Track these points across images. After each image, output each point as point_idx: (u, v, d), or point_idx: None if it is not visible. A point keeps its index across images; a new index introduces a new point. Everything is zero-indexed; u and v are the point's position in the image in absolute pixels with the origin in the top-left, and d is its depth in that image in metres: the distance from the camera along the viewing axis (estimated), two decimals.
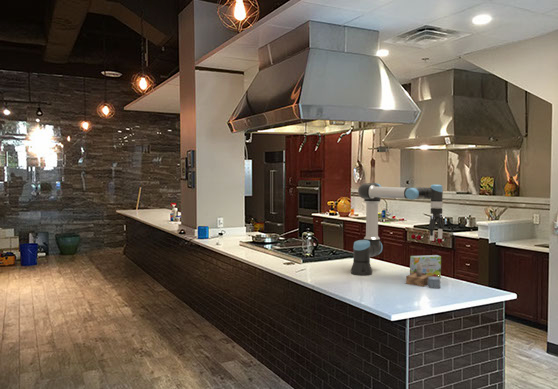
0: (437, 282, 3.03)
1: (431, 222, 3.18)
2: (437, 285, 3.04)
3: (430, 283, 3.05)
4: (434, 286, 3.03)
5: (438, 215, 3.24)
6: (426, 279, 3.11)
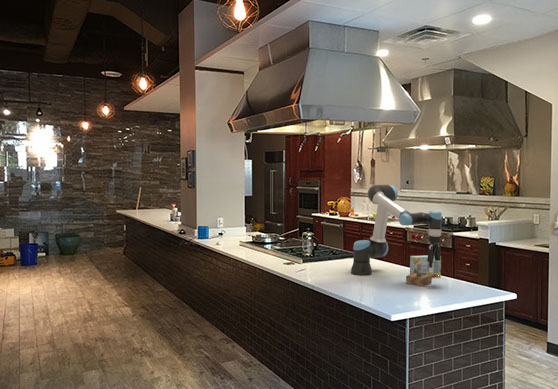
0: (437, 267, 3.03)
1: (429, 253, 3.01)
2: (437, 270, 3.04)
3: None
4: (434, 271, 3.03)
5: None
6: (426, 279, 3.11)
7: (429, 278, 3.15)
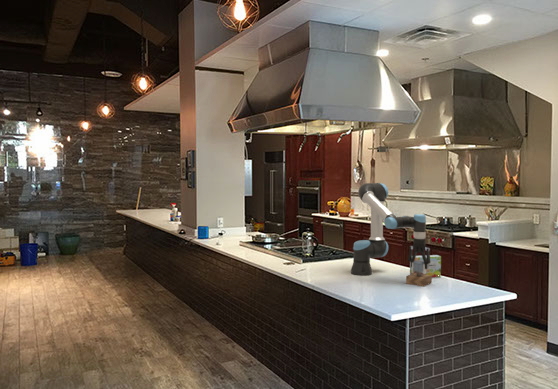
0: (414, 264, 3.15)
1: None
2: (414, 267, 3.15)
3: None
4: (413, 268, 3.17)
5: (420, 245, 3.14)
6: (426, 279, 3.11)
7: (429, 278, 3.15)
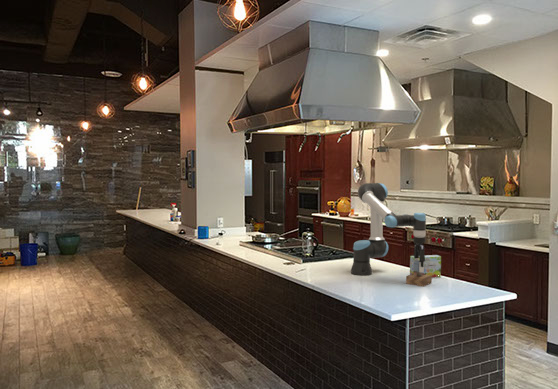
0: None
1: None
2: None
3: None
4: None
5: (418, 244, 3.15)
6: (426, 279, 3.11)
7: (429, 278, 3.15)
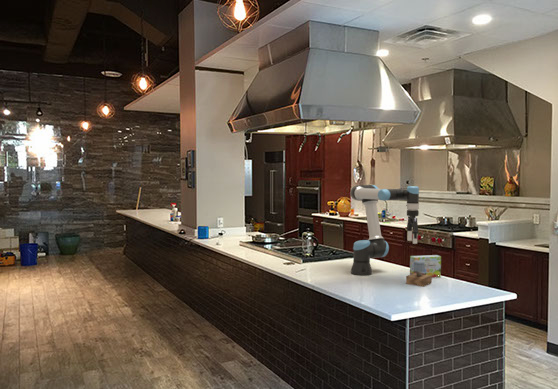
0: None
1: None
2: None
3: (424, 266, 3.15)
4: None
5: (411, 217, 3.17)
6: (426, 279, 3.11)
7: (429, 278, 3.15)
